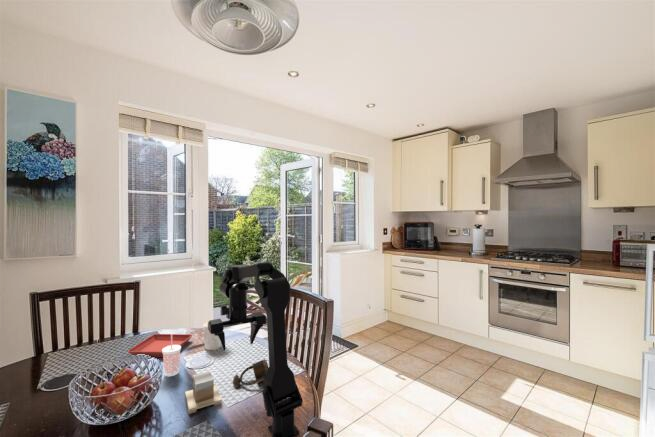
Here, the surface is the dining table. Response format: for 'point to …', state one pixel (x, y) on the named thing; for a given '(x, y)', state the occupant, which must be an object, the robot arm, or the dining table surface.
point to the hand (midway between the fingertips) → (238, 347)
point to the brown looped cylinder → (258, 373)
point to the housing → (203, 387)
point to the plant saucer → (159, 344)
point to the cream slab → (194, 406)
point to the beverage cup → (171, 359)
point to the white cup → (210, 339)
